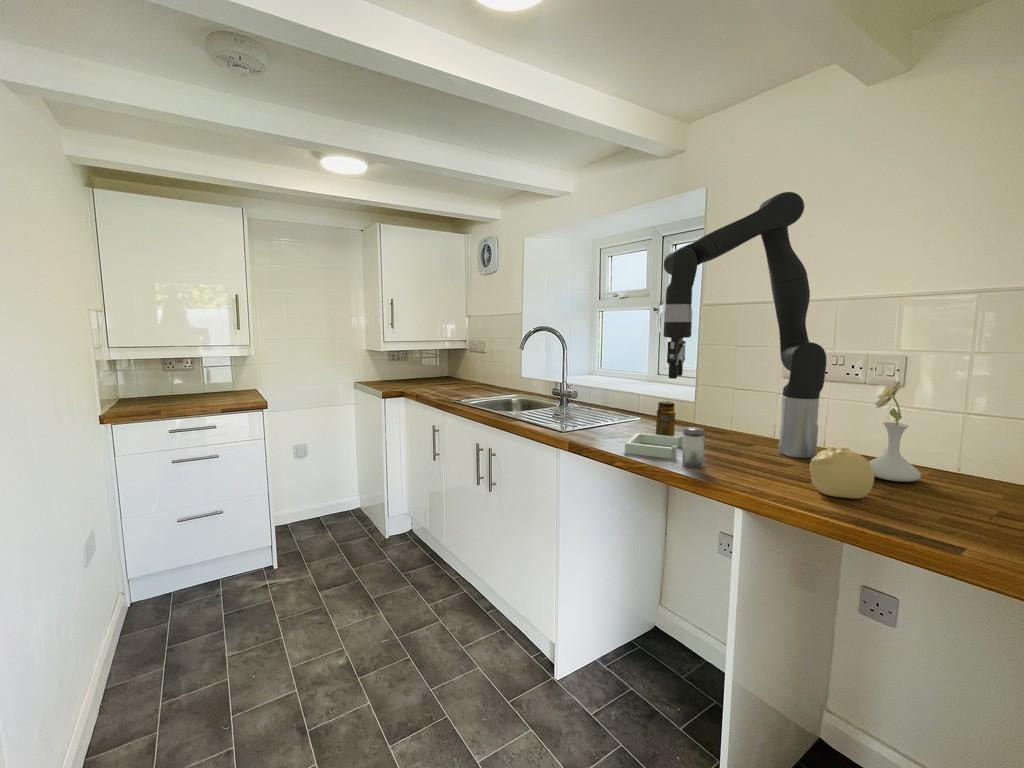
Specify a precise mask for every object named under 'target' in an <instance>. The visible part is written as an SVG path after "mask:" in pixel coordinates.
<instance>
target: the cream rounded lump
mask: <svg viewBox="0 0 1024 768" xmlns="http://www.w3.org/2000/svg"><path fill="white" fill-rule="evenodd" d="M809 472H810V477H811V483H812V485H813V486H814V487H815V488H816V489H817V490H818V491H819V492H820V493H821V494H822V495H826V496H830V497H836V498H845V499H846V498H847V499H863V498H865V497H866V496H868V495H869V493H870V492H871V490H872V488H873V486H874V482H875V476H874V472H873V468H872V466H871V464H870V463H869V460H867V458H865V456H863V455H861V454H860V453H857V452H855V451H852V450H851V449H850V448H849V447H834V446H827V447H826V448H825V449H823V450H821V451H819V452H817V453H816V456H815V457H814V458H810V463H809Z"/></svg>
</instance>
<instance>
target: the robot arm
mask: <svg viewBox="0 0 1024 768" xmlns="http://www.w3.org/2000/svg"><path fill="white" fill-rule="evenodd" d="M804 210H805V203H804V200H803V198H802V196H801V195H799V194H798V193H795V192H792V191H786V192H785V191H784V192H781V193H778V194H776V195H773V196H772V197H771V198H769V199H767V200H764V201H763V202H762V203H761V204H760V205H759V207H758V209H757V210H755V211H754V212H752V213H750V214H748V215H746V216H744V217H743V218H739V219H737V220H735V221H733V222H731V223H729V224H726V225H724V226H721V227H719V228H717V229H716V230H713V231H712V232H709V233H707V234H705V235H703V236H702V237H700V238H698V239H697V240H695V241H694V242H691V243H689V244H686V245H684V246H682V247H680V248H677V249H675V250H673V251H671V252H669V253H668V254H667V255H666V256H665V258H664V260H663V268H664V271H665V272H666V273H667V274H668V275H670V276H671V277H670V283H669V284H668V285H667V287H666V290H665V307H664V313H663V314H664V315H663V317H664V318H663V337H664V338H670V339H671V340H670V341H668V342H667V352H666V353H667V354H666V355H667V356H666V362H667V363H666V364H667V365H668V379H671V380H672V379H673V380H675V379H677V378H678V377H683V368H684V367H683V365H684V362H685V360H686V340H684V338H688V339H689V338H691V337H692V328H693V326H692V323H693V309H692V308H693V307H692V303H693V299H692V298H693V286H694V284H695V279H696V275H697V271H698V266H700V265H701V264H703V263H704V264H705V263H707V262H710V261H712V260H714V259H717V258H718V257H720V256H723V255H725V254H726V253H728V252H730V251H733V250H734V249H735V248H738V247H740V246H741V245H743V244H745V243H747V242H748V241H751V240H752V239H754V238H756V237H759V236H760V237H761V240H762V244H763V247H764V252H765V258H766V263H767V269H768V273H769V279H770V285H771V286H770V287H771V293H772V299H773V302H774V309H775V313H776V320H777V323H778V330H779V332H778V333H779V345H780V346H779V347H780V348H779V353H780V360H781V362H782V365H783V367H784V368H785V369H786V370H788V371H789V372H790V373H789V379H788V383H786V384H785V385H784V386H783V387H782V388H783V389H782V397H781V398H782V399H781V400H782V401H781V415H780V429H779V443H778V453H779V454H780V455H784V456H787V457H790V458H798V459H799V458H800V459H813V458H814V457H815V456H816V455H817V449H818V435H819V425H818V423H819V422H818V420H819V409H820V408H819V407H820V396H821V395H820V394H821V392H822V390H823V388H824V384H825V379H826V369H827V355H826V351H825V349H824V348H823V346H822V345H820V344H819V343H816V342H811V341H810V340H809V336H808V332H807V326H806V324H807V322H806V321H807V314H808V309H809V304H810V297H811V295H810V294H811V293H810V292H811V290H810V283H809V278H808V272H807V269H806V267H805V266H804V263H803V262H802V261H801V259H800V258H799V257H798V255H797V254H796V252H795V251H794V250H793V247H792V244H791V241H790V235H789V228H788V227H790V226H792V225H793V224H795V223H796V222H797V221H798V220H799V219H800V218H801V217H802V216H803V213H804Z"/></svg>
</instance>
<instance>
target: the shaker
mask: <svg viewBox="0 0 1024 768" xmlns="http://www.w3.org/2000/svg"><path fill="white" fill-rule="evenodd" d="M682 429H683V431H682V432H683V436H684V438H683V448H682V464H681V465H682V467H683V468H686V469H689V468H690V469H691V470H700V468H701V469H703V468H704V450H705V449H704V448H705V447H704V446H705V435H706V430H705V429H704V428H701V427H695V426H691V427H690V426H688V427H683V428H682Z"/></svg>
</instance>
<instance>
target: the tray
mask: <svg viewBox="0 0 1024 768" xmlns="http://www.w3.org/2000/svg"><path fill="white" fill-rule="evenodd" d="M683 438H684V435H679V436H678V437H673V436H663V435H656V434H651V433H641V432H640V433H639V432H637V433H635V434H634V435H632V437H631V438H629V439H628V440H627V441H626V442H625V443H624V454H629V455H630V454H631V455H638V456H647V457H653V458H662V459H672V460H677V453H678V448H682V449H683Z"/></svg>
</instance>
